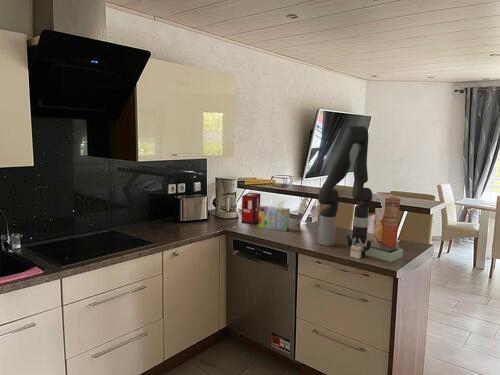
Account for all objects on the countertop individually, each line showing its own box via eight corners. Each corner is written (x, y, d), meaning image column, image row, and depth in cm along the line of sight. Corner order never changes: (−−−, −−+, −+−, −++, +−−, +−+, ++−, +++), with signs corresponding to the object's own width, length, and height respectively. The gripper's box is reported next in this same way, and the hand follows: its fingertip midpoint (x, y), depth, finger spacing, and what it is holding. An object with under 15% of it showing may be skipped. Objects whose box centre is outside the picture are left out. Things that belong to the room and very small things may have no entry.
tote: (359, 254, 208) (360, 245, 207) (372, 250, 217) (372, 241, 216) (390, 263, 195) (391, 254, 194) (402, 258, 204) (403, 249, 203)
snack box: (289, 229, 258) (290, 208, 256) (286, 231, 253) (287, 209, 251) (261, 225, 268) (261, 204, 266) (257, 227, 263) (258, 206, 261)
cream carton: (350, 256, 203) (350, 245, 202) (357, 254, 208) (358, 243, 207) (358, 259, 199) (359, 248, 198) (365, 256, 204) (366, 245, 203)
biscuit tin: (367, 254, 207) (367, 245, 206) (375, 250, 213) (376, 242, 212) (388, 259, 198) (389, 250, 197) (396, 256, 204) (397, 247, 203)
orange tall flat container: (373, 238, 242) (376, 192, 238) (386, 239, 241) (389, 192, 237) (381, 249, 219) (385, 198, 215) (395, 250, 218) (400, 198, 214)
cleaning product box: (248, 218, 289) (249, 192, 286) (259, 219, 286) (260, 193, 284) (241, 223, 273) (242, 195, 271) (253, 224, 271) (254, 196, 268)
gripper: (344, 223, 204) (342, 253, 206) (368, 228, 193) (366, 260, 196) (352, 221, 209) (350, 251, 211) (376, 226, 198) (373, 257, 201)
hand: (358, 255), depth 203 cm, fingers closed on cream carton, 5 cm apart
